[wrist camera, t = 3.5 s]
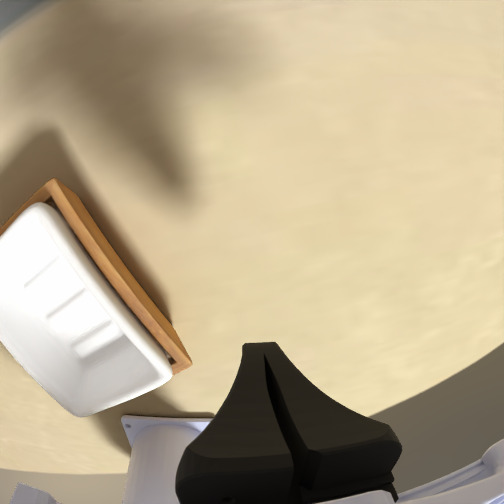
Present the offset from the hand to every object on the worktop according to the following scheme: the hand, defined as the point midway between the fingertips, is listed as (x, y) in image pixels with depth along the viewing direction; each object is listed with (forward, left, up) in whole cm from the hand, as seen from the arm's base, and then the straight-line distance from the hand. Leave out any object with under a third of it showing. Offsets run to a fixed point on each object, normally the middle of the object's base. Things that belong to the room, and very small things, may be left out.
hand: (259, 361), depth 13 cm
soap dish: (0, +11, -8) cm, 13 cm away
